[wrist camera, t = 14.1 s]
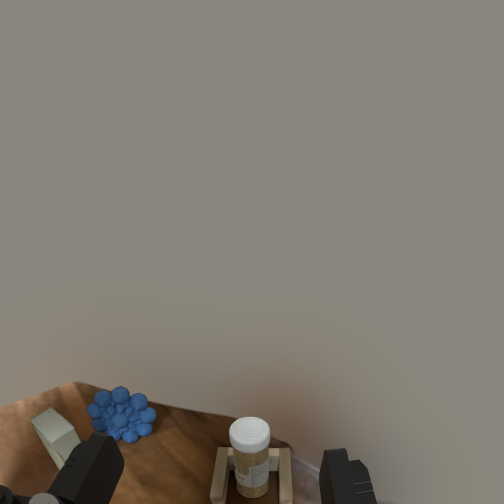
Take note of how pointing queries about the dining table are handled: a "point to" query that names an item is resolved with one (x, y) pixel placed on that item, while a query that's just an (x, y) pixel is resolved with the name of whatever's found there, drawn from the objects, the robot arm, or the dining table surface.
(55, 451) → the skincare box
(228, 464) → the pocket
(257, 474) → the spice jar
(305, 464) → the dining table surface
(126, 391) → the blue bumpy cluster
